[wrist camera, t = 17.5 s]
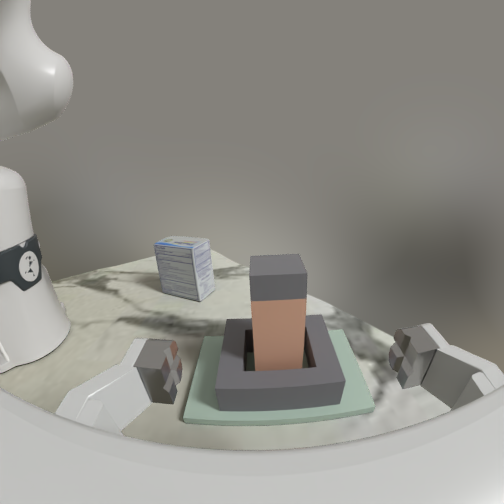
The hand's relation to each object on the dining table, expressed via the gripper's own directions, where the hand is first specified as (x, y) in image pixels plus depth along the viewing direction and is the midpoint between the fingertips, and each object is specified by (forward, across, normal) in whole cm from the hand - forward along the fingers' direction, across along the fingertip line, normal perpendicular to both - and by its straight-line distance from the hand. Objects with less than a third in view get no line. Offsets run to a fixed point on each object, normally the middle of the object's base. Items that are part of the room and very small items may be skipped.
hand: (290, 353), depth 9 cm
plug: (+12, 0, +12) cm, 17 cm away
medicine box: (+30, +12, +14) cm, 36 cm away
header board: (+11, 0, +13) cm, 17 cm away
